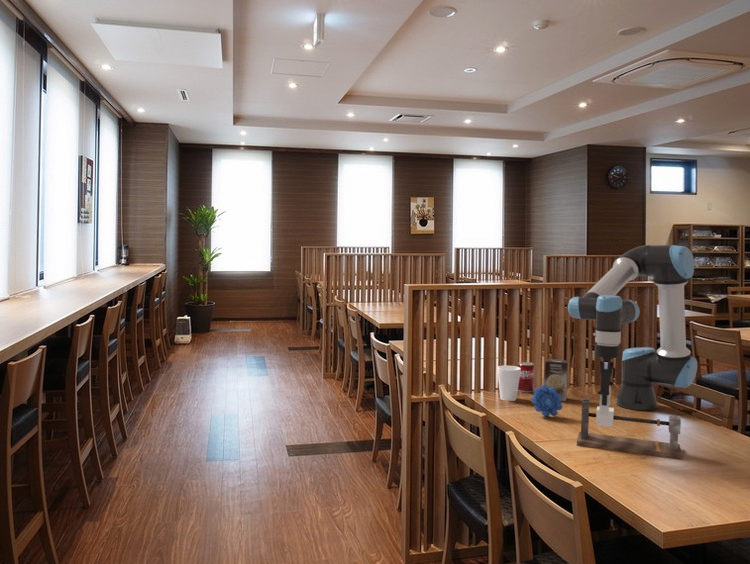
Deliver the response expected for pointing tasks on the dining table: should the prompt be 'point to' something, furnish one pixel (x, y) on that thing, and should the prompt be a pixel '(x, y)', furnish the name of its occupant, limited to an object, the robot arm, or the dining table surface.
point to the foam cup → (508, 382)
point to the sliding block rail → (629, 443)
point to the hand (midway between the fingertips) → (604, 410)
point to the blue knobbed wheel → (547, 400)
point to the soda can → (526, 377)
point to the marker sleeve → (605, 418)
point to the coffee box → (556, 376)
